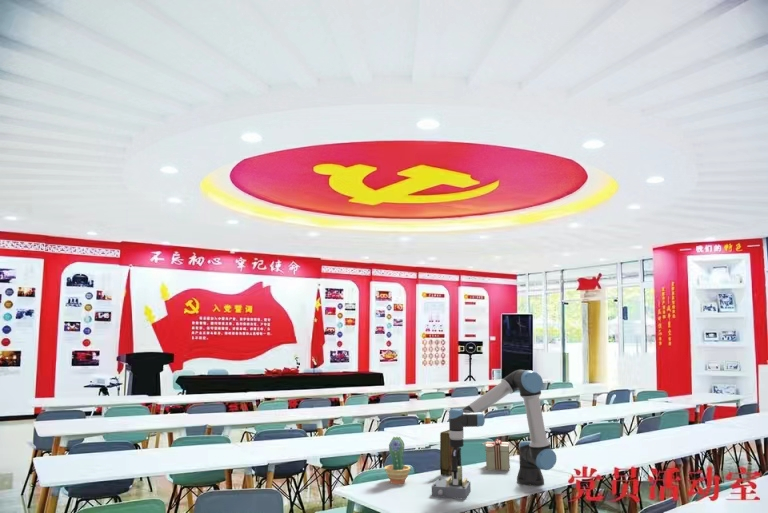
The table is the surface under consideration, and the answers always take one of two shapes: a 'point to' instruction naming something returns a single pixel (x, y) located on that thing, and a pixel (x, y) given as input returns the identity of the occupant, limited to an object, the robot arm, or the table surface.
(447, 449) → the book
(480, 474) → the table surface
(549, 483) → the table surface
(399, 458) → the potted cactus
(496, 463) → the gift box
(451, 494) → the grey shallow box
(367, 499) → the table surface
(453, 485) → the spout can
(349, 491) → the table surface
